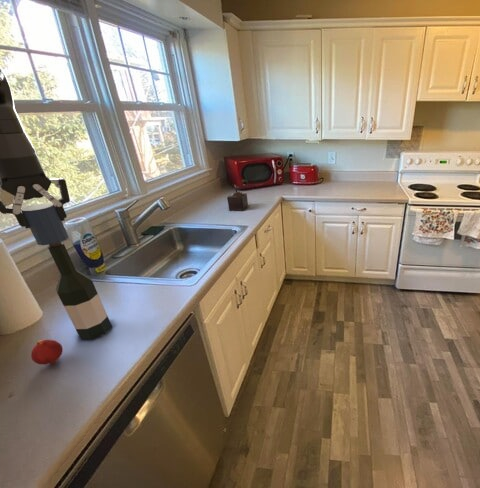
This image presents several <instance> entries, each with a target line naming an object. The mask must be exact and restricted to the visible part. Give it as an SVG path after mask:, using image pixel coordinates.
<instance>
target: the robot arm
mask: <svg viewBox="0 0 480 488" xmlns="http://www.w3.org/2000/svg"><path fill="white" fill-rule="evenodd" d="M52 184H53V185H54V186H55V187H56V188H57V189H59V193H60V198H59V199H58V198H57V197H55V196H54V195H53V194H51V193H50V192H49V189H50V187H51V185H52ZM2 191H4V192H7V193H8V194H10V195H12V196H13V199H12V207H10V206H6V204H5V203H4V202H3V200H1V198H0V214H3V215H7V214H10V215H13V216H14V217H15V219H16V220H17V223H18V224H19V226H20V227H21V228H25V229H30V227H29V225H28V223H27V221H26V219H25V217H24V215H23V213H22V211H21V209H22V206H23V203H24V201H28V200H33V199H41V198H45V199H47V200H48V201H49V202H51V203H52V204H54V205H55V207H56V210H57V212H58V214H59V216H60V219H61V221H62V222H64V221H65V220H66V219H67V217H68V216H67V212H66V211H65V208H64V205H66V204H69V203H70V202H71V199H70V194H69V189H68V185H67V181H66V180H65V179H64V178H63V177H58V178H49V177H48V176H47V175H46V173H45V170H44V168H43V166H42V164H41V161H40V159H39V157H38V154H37V151H36V148H35V147H34V145H33V143H32V141H31V139H30V137H29V136H28V135H27V133H26V130H25V127H24V126H23V123H22V121H21V119H20V117H19V115H18V113H17V111H16V108H15V102H14V97H13V93H12V89H11V86H10V83H9V80H8V77H7V75H6V73H5V72H4V70H3V68H2V66H0V197H1V196H2Z"/></svg>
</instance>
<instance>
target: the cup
mask: <svg viewBox="0 0 480 488" xmlns="http://www.w3.org/2000/svg"><path fill="white" fill-rule="evenodd" d="M21 212H22V213H23V215H24V217H25V219H26V221H27V223H28V225H29V227H30V228H29V229H30V232H31V234H32V236H33V237H34V239H35V241H36V243H37V245H38V246H49V245H51V244H55V243H59V242H61V243H62V242H64V241H67V240H68V239H69V238H70V236H69V234H68V232H67V230H66V228H65V226H64V225H65V224H64V223H63V221H61V219H60V216H59V214H58V212H57V210H56V207H55V204H53V203H52V202H51V203H49V202H48V203H47V202H46V203H44V202H43V203H36V204H31V205H28V206H25V207H21Z"/></svg>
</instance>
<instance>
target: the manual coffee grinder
mask: <svg viewBox="0 0 480 488" xmlns="http://www.w3.org/2000/svg"><path fill="white" fill-rule="evenodd" d="M241 183H242V184H243V185H242V186H237V184H236V183H235V184H234V186H233V187H234V189H235V191H234V192H232V193H231V194H229V195H228V196H227V197H226V200H227V206H228V210H229V211H231V212H232V211H234V212H244V211H246V210H247V209H248V208H249V202H248V193H247V192H240V191H238V189H242V188H246V187H248V184H249V180H248V179H242V181H241Z"/></svg>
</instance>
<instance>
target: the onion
mask: <svg viewBox="0 0 480 488" xmlns="http://www.w3.org/2000/svg"><path fill="white" fill-rule="evenodd" d="M63 351H64V349H63V345H62V344H61V343H60V342H59V341H57V340H53V339H39V340H38V341H37V342H36V345H34V347H32V350H31V353H30V355H31V356H30V358H31V360H32V361H33V363H35V364H37V365H52V364H53V365H54V364H55V363H56V362H57V361H58V360H59V359H60V357H61V356H62V354H63Z"/></svg>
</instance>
